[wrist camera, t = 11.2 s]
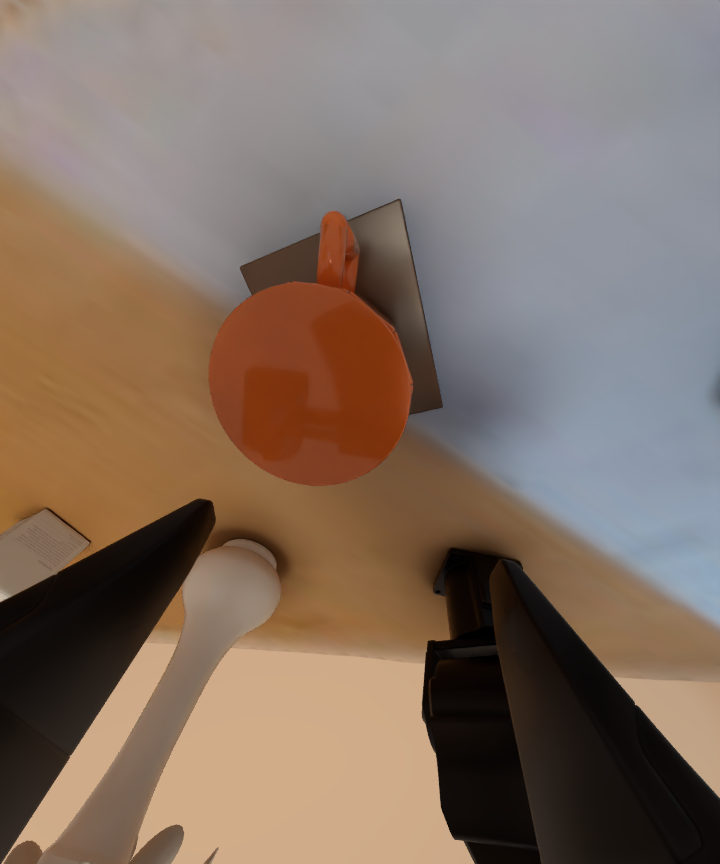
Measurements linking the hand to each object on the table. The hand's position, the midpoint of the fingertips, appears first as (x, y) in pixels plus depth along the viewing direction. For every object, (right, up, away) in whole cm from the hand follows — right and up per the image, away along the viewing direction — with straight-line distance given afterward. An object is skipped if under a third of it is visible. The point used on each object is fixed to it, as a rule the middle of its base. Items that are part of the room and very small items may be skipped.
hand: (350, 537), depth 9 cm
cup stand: (0, +9, +9) cm, 13 cm away
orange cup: (-1, +8, +7) cm, 11 cm away
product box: (-35, -8, +25) cm, 44 cm away
